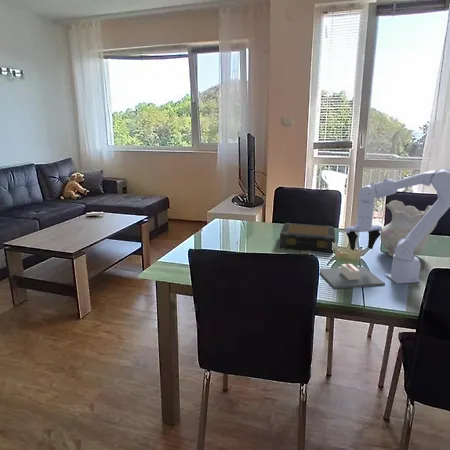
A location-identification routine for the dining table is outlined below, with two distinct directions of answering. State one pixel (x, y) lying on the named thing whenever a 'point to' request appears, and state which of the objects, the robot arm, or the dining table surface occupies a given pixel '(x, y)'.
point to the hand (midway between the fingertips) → (361, 248)
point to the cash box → (307, 237)
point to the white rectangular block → (350, 271)
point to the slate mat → (341, 281)
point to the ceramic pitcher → (402, 226)
